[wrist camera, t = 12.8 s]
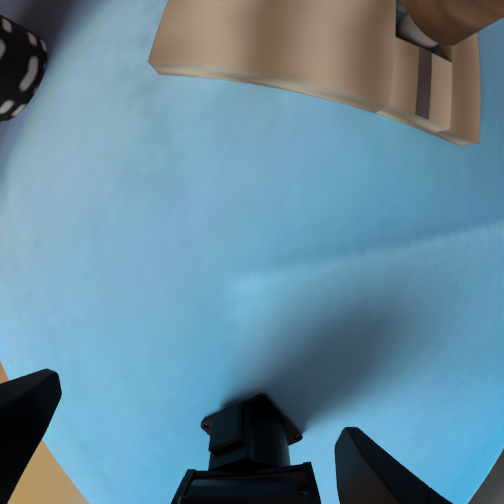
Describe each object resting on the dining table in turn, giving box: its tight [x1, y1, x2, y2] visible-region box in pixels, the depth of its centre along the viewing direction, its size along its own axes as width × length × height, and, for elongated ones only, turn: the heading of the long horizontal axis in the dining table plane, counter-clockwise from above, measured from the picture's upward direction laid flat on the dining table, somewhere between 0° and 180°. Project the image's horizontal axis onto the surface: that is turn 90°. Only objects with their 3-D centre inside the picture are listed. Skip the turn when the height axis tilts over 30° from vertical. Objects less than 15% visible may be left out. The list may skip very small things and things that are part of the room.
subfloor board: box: [148, 0, 481, 146], centre depth 15 cm, size 22×15×3 cm
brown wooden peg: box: [395, 0, 504, 50], centre depth 11 cm, size 4×4×11 cm
